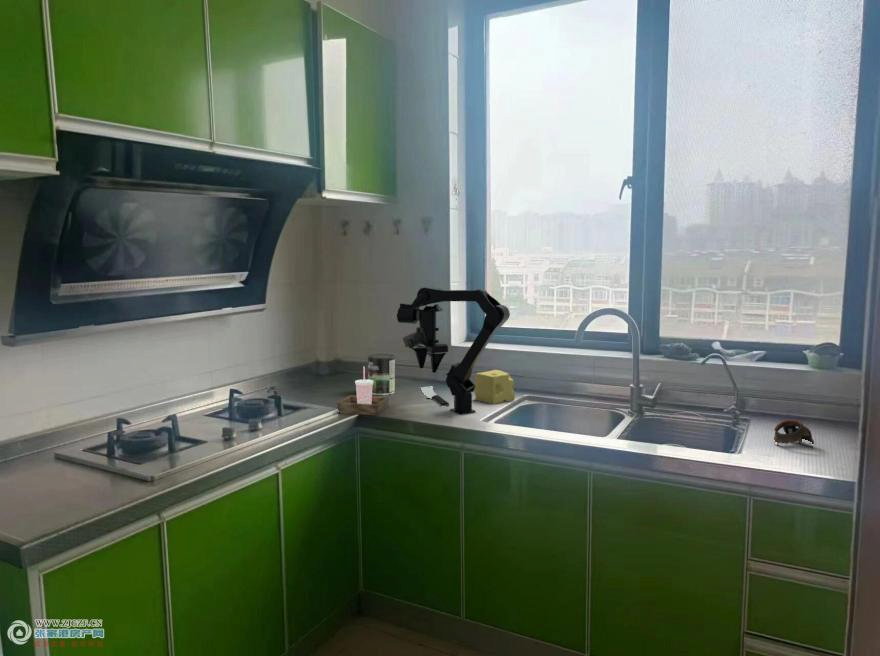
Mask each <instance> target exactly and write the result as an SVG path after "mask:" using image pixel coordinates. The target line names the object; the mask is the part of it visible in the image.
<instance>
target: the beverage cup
mask: <svg viewBox="0 0 880 656" xmlns="http://www.w3.org/2000/svg"><path fill="white" fill-rule="evenodd" d="M362 367H363V370H362V373H363V376H362V377H363V379H357V380H355V381H354V384H355V390H356V396H357V403H359V404H372V397H373V395H372V385H373V380H368V378H367V379H366V369H365V368H366V366H362Z"/></svg>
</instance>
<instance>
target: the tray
mask: <svg viewBox="0 0 880 656" xmlns="http://www.w3.org/2000/svg"><path fill="white" fill-rule="evenodd" d="M389 399H390V398H389V396H372V404H359V403H357V395H351V394H350V395H348V396H346V397H345V398H343V399H342V400H340V401H339V402H337V404H336V405H337V406H336V407H337V411H338V410H339V412H340V413H339V414H346V415H348V414H349V415H364V416H365V415H367V416H368V415H369V416H380V414H381V413H384V412H385V411H386V409H388V408H389V407H390V406H389V405H390V404H389Z"/></svg>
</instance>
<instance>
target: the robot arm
mask: <svg viewBox="0 0 880 656" xmlns="http://www.w3.org/2000/svg"><path fill="white" fill-rule="evenodd" d="M443 302H476V304H477V305H478V306H479V308H480V309H481V311H482V312H483V313H484V314H485V317H484V320H483V323H482V328H481V329H480V331H479V333H478V334H477V336H476V337H475V339H474V340H473V341H472V343H471V345H470V347H469V348H468V350H467V352H466V353H465V355H464V357H463V359H462V360H461V362H457V363H454V364H452V365H451V367H450V369H449V371H448V373H446V374H445V376H446V378H445V382H446V383H445V384H446V385H447V387H448V388H449V390H450V393H451V396H453V408H450V409H449V411H450V412H453V413H454V414H458V415H464V414H465V415H466V414H472V413H476V410H475V409H473V402H472V401H473V394H472V393H473V392H475V383H473V382H472V380H471V378H472V377H471V376H472V372H473V368H474V366H475V364H476V363H477V361H478V360H479V358H480V357H481V355H482V354H483V351H484V350H485V348H486V347H487V346H488V344H489V343H490V340H491V339H492V337H493V336H494V335H495V333H496V332H497V331H498V330H499V329H500V328H501V327H502V326H504V324H505V323H507V321H508V319H510V316H511V314H510V313H511V312H510V309H509V308H508V307H507V306H506V305H503V304H501V303H500V302H499V301H498V300H497V299H495V297H493V296H491V295H490V294H489V292H488V291H487V290H485V289H483V288H482V289H481V288H480V289H444V288H441V287H435V286H428V287H427V286H426V287H421V288H420V289H419V290H417V292H416V297H415V299H414V300H413V301H412V303H406V302H405V303H404V302H402V303H400V304H399V308H398V309H397V313H396V318H397V319H396V320H397V322H398V323H399V324H414V325H416V324H417V323H418V324H419V325H418V326H417V327H416V328H415V332H413V333H412V332H411V333H409V334H408V335H406V336H404V337H402V340H403V344H404V346H405V348H409V349H410V350H412V352H414V353H415V356H416V359H417V363H418V366H419V369H423V368H424V366H425V363H426V359H427V355H428V357H430V364H431V365H430V366H431V372H432V373H433V374H435V373H436V372H437V370H438V369H439V366H440V364H441V362H442V360H443V359H444V357H445V355H447V353H449V345H448V344H447V343H444V342H439V339H437V332H439V330H440V329H439V327H437V312H442V311H443V308H442V307H440V305H439V304H440V303H443ZM438 303H439V304H438ZM433 304H434V305H433ZM420 307H423V308H420Z"/></svg>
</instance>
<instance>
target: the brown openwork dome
mask: <svg viewBox="0 0 880 656" xmlns="http://www.w3.org/2000/svg"><path fill="white" fill-rule="evenodd" d="M781 429H783V431H784V433H781V432H779V431H780V430H781ZM802 439H805V440H808V441H810V442H812V444H814V445H815V441H814V439H813V435H812V431H811V430H810V428H809V427H807V426H806V425H804V424H803V423H802V421H800V420H798V419H787V420H786V419H785V420H783V421H781V422H779V423H778V424H776V425H775V427H774V436H773V441H774V440H775V442H777V444H785V445H787V444H792V443H796V442H798V441H799V442H802ZM775 442H774V443H775ZM799 442H798V443H799Z"/></svg>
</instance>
